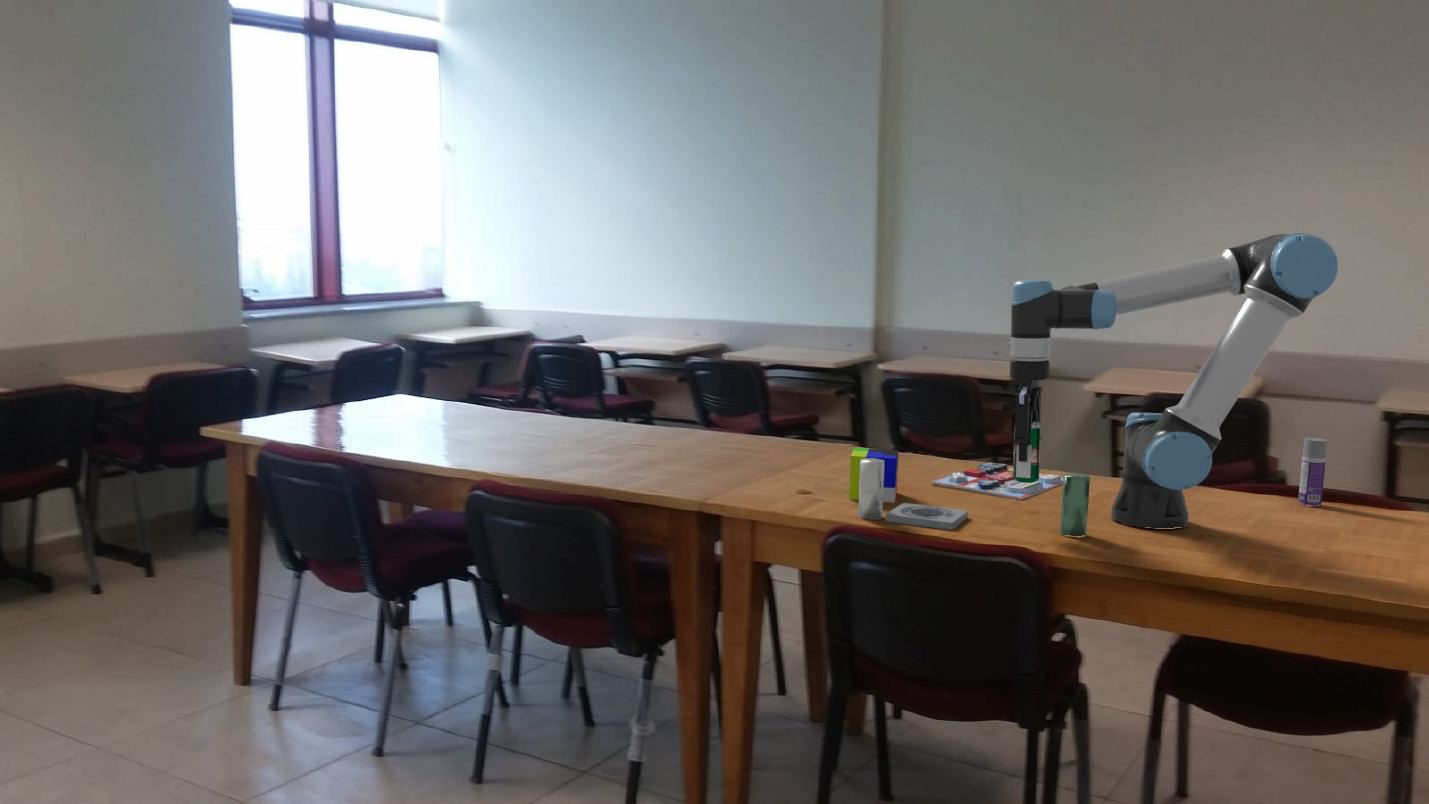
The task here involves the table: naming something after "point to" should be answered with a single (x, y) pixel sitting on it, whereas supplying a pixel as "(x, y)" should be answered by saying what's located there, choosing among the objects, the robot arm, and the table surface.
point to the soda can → (1034, 455)
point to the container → (1312, 471)
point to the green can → (1074, 504)
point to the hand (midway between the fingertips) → (1026, 474)
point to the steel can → (871, 489)
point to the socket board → (911, 513)
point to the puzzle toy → (889, 471)
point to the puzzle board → (997, 482)
